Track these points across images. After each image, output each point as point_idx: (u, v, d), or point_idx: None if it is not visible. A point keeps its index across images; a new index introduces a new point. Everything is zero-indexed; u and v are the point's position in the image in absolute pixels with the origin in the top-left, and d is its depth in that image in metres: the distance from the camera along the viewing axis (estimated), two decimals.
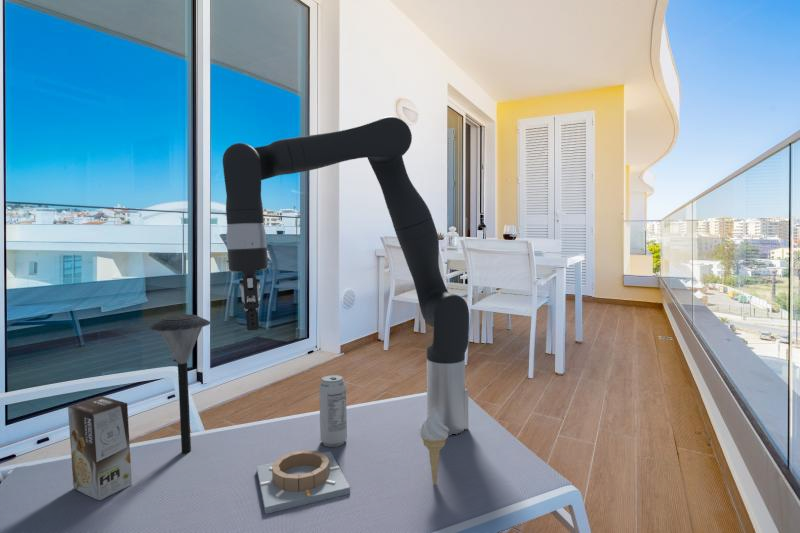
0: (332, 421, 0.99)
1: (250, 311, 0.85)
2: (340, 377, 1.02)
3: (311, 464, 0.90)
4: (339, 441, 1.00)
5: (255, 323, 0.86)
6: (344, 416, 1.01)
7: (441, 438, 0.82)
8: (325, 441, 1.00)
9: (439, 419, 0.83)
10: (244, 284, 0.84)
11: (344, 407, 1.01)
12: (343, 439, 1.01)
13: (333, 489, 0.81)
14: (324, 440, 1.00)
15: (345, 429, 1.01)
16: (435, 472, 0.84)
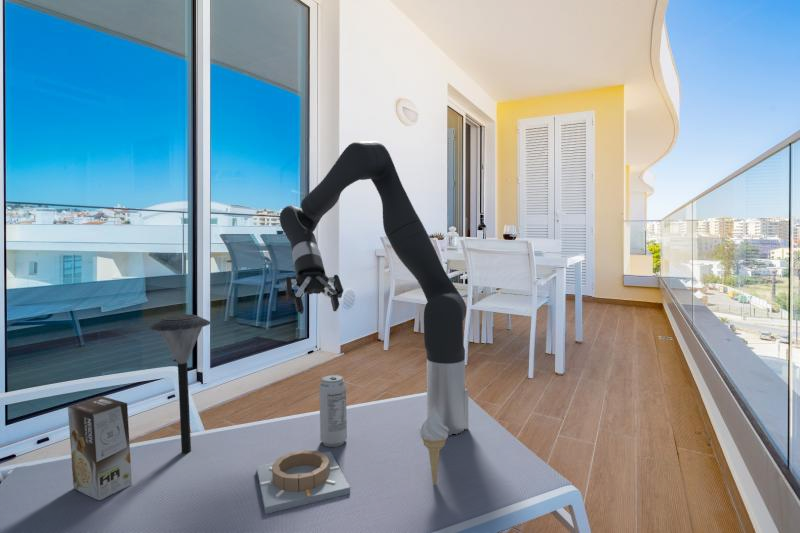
0: (332, 421, 0.99)
1: (294, 300, 1.11)
2: (340, 377, 1.02)
3: (311, 464, 0.90)
4: (339, 441, 1.00)
5: (296, 306, 1.09)
6: (344, 416, 1.01)
7: (441, 438, 0.82)
8: (325, 441, 1.00)
9: (439, 419, 0.83)
10: (285, 286, 1.14)
11: (344, 407, 1.01)
12: (343, 439, 1.01)
13: (333, 489, 0.81)
14: (324, 440, 1.00)
15: (345, 429, 1.01)
16: (435, 472, 0.84)
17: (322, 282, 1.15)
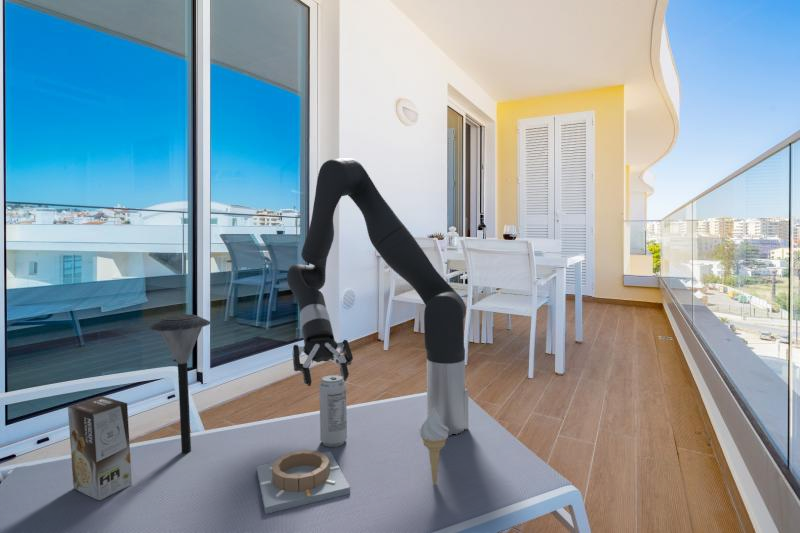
0: (332, 421, 0.99)
1: (301, 371, 1.07)
2: (340, 377, 1.02)
3: (311, 464, 0.90)
4: (339, 441, 1.00)
5: (304, 378, 1.05)
6: (344, 416, 1.01)
7: (441, 438, 0.82)
8: (325, 441, 1.00)
9: (439, 419, 0.83)
10: None
11: (344, 407, 1.01)
12: (343, 439, 1.01)
13: (333, 489, 0.81)
14: (324, 440, 1.00)
15: (345, 429, 1.01)
16: (435, 472, 0.84)
17: (331, 349, 1.10)
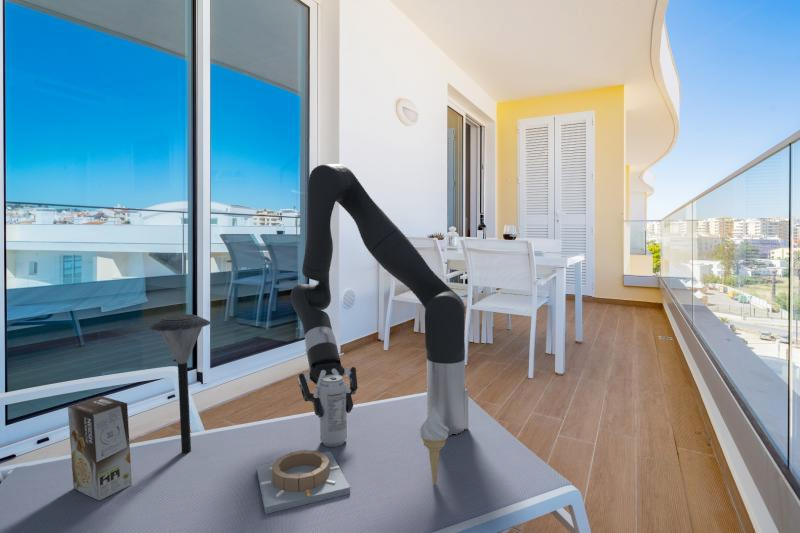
0: (332, 421, 0.99)
1: (312, 401, 1.01)
2: (340, 377, 1.02)
3: (311, 464, 0.90)
4: (339, 441, 1.00)
5: (315, 409, 0.99)
6: (344, 416, 1.01)
7: (441, 438, 0.82)
8: (325, 441, 1.00)
9: (439, 419, 0.83)
10: None
11: (344, 407, 1.01)
12: (343, 439, 1.01)
13: (333, 489, 0.81)
14: (323, 440, 1.00)
15: (345, 429, 1.01)
16: (435, 472, 0.84)
17: None
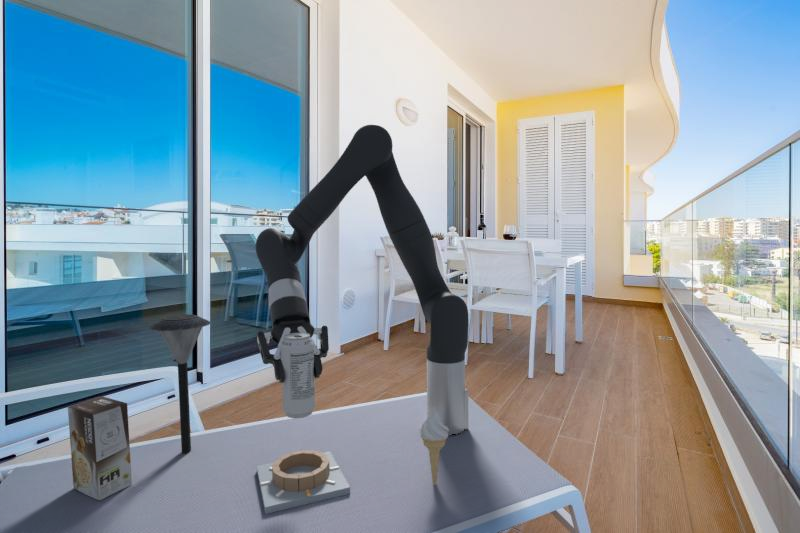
0: (296, 387, 0.82)
1: (272, 363, 0.84)
2: (306, 335, 0.84)
3: (311, 464, 0.90)
4: (304, 411, 0.82)
5: (275, 373, 0.82)
6: (311, 381, 0.83)
7: (441, 438, 0.82)
8: (287, 411, 0.82)
9: (439, 419, 0.83)
10: None
11: (311, 371, 0.83)
12: (310, 409, 0.83)
13: (333, 489, 0.81)
14: (286, 410, 0.83)
15: (312, 397, 0.84)
16: (435, 472, 0.84)
17: None
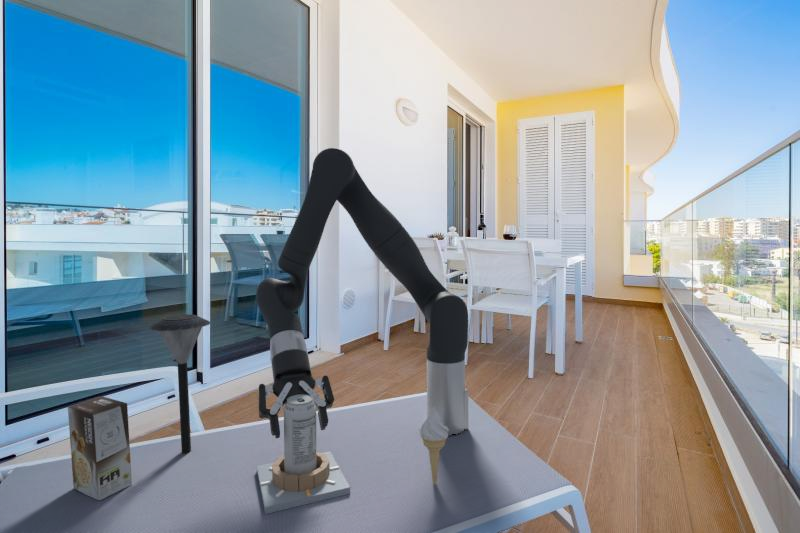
0: (297, 451, 0.83)
1: (268, 418, 0.84)
2: (309, 398, 0.85)
3: None
4: None
5: (271, 429, 0.82)
6: (313, 445, 0.84)
7: (441, 438, 0.82)
8: None
9: (439, 419, 0.83)
10: (258, 395, 0.87)
11: (313, 435, 0.84)
12: None
13: (333, 489, 0.81)
14: (287, 473, 0.84)
15: (314, 461, 0.85)
16: (435, 472, 0.84)
17: (306, 389, 0.88)
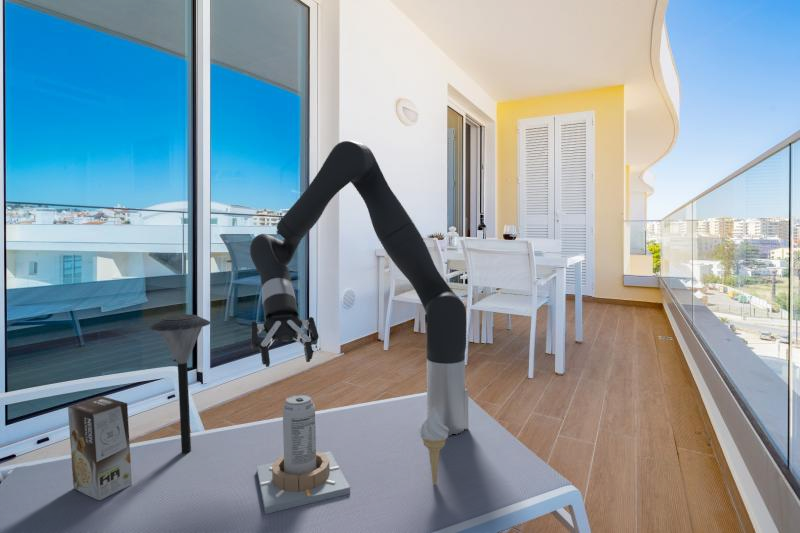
0: (297, 451, 0.83)
1: (260, 350, 0.95)
2: (308, 398, 0.85)
3: None
4: None
5: (262, 358, 0.94)
6: (312, 445, 0.84)
7: (441, 438, 0.82)
8: None
9: (439, 419, 0.83)
10: None
11: (312, 434, 0.84)
12: None
13: (333, 489, 0.81)
14: (287, 473, 0.84)
15: (313, 460, 0.85)
16: (435, 472, 0.84)
17: (294, 327, 0.99)
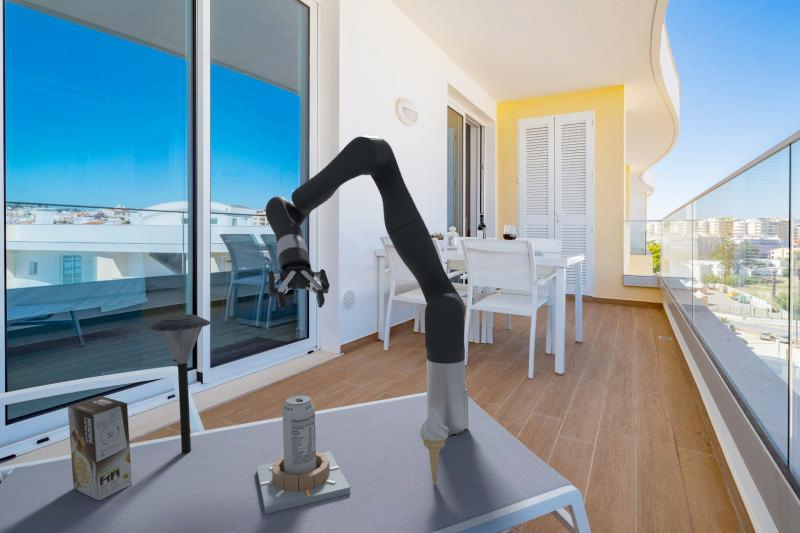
0: (297, 452, 0.83)
1: (276, 296, 1.05)
2: (308, 398, 0.85)
3: None
4: None
5: (279, 302, 1.03)
6: (312, 445, 0.84)
7: (441, 438, 0.82)
8: None
9: (439, 419, 0.83)
10: (268, 280, 1.08)
11: (312, 435, 0.84)
12: None
13: (333, 489, 0.81)
14: None
15: (313, 461, 0.85)
16: (435, 472, 0.84)
17: (307, 277, 1.09)
